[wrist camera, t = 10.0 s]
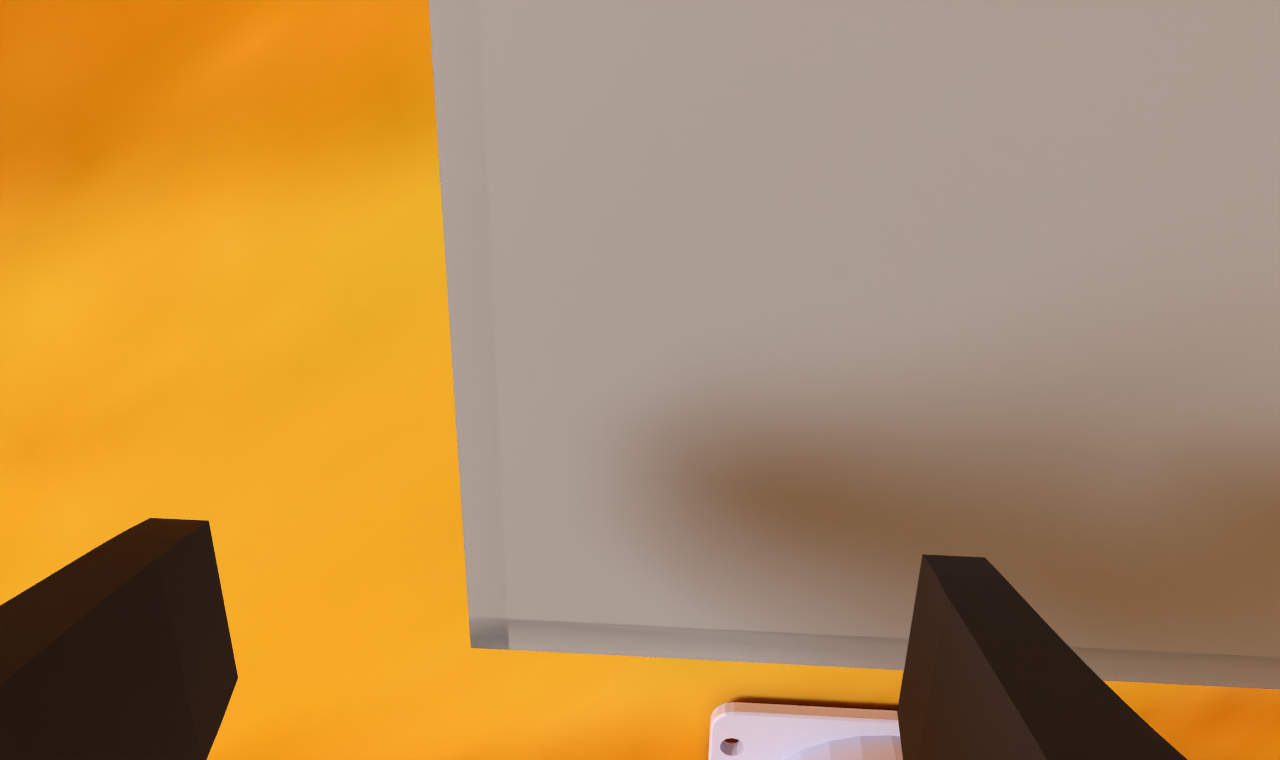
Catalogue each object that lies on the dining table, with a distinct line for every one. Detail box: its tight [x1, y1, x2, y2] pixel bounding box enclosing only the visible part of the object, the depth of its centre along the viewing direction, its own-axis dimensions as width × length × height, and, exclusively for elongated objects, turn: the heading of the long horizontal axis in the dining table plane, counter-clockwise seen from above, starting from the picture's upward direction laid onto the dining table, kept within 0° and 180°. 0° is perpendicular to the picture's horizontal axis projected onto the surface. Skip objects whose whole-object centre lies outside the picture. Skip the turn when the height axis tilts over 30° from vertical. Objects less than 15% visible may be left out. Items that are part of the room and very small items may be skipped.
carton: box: [429, 0, 1280, 689], centre depth 16 cm, size 15×16×6 cm
